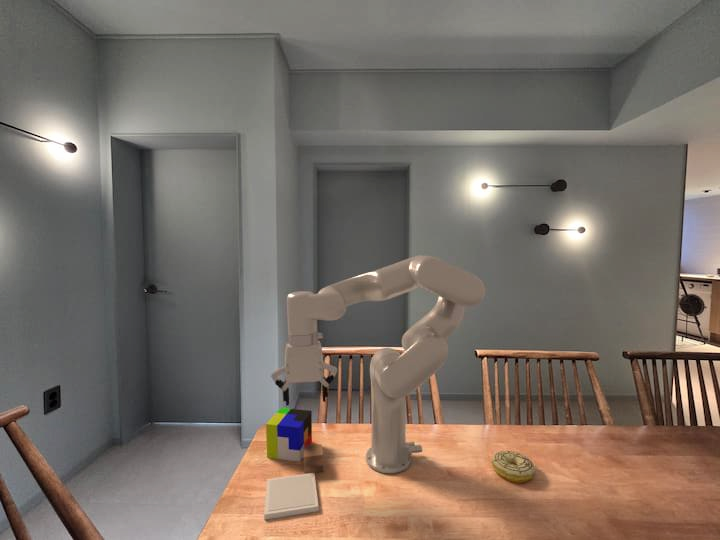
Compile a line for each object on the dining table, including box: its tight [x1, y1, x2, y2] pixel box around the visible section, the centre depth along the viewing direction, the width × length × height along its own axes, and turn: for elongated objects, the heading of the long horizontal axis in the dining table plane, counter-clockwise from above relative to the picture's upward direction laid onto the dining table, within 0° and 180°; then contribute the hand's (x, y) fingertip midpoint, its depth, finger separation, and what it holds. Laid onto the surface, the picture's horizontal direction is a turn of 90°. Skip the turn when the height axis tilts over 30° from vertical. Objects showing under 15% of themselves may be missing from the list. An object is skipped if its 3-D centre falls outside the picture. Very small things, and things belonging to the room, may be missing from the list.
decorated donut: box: [491, 450, 537, 484], centre depth 95 cm, size 10×11×4 cm
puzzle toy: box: [265, 407, 313, 462], centre depth 105 cm, size 10×10×10 cm
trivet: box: [263, 473, 320, 520], centre depth 86 cm, size 12×12×1 cm
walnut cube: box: [302, 443, 324, 474], centre depth 97 cm, size 5×5×5 cm
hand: (306, 401), depth 95 cm, fingers open, 9 cm apart
